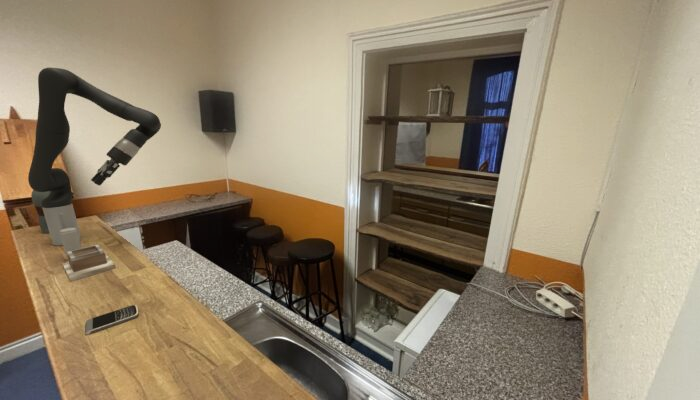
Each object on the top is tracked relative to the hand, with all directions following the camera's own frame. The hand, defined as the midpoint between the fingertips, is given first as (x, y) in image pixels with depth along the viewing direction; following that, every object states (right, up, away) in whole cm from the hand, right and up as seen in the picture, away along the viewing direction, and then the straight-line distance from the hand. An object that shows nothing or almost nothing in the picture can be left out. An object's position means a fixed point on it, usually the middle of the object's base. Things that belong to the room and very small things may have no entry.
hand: (94, 183), depth 111 cm
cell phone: (+38, -40, -36) cm, 66 cm away
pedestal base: (+6, -32, -8) cm, 33 cm away
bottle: (-47, -22, +29) cm, 60 cm away
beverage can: (-7, -30, -1) cm, 31 cm away
